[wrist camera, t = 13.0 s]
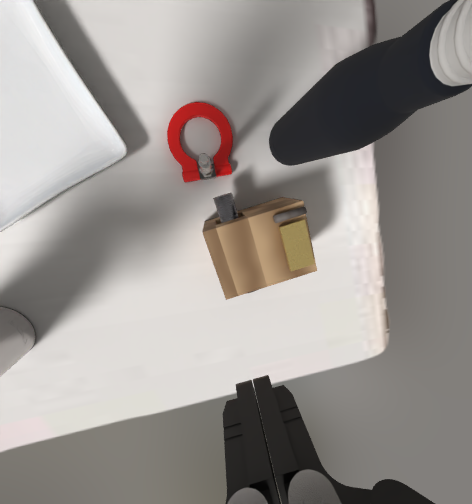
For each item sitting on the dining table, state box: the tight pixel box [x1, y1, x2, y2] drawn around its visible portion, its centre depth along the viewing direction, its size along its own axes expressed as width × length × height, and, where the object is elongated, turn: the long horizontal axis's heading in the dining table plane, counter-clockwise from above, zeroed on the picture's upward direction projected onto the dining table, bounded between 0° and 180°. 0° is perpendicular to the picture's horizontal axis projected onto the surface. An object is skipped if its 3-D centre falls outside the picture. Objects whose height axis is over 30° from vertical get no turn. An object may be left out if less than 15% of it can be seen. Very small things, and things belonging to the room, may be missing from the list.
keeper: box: [278, 219, 315, 271], centre depth 26 cm, size 3×6×1 cm, turn 16°
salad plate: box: [0, 0, 127, 232], centre depth 26 cm, size 21×21×3 cm
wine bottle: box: [269, 0, 472, 166], centre depth 17 cm, size 6×6×30 cm
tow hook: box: [167, 102, 233, 182], centre depth 24 cm, size 8×13×9 cm
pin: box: [213, 193, 256, 293], centre depth 30 cm, size 13×5×5 cm, turn 17°
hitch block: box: [203, 197, 317, 300], centre depth 30 cm, size 12×9×9 cm
